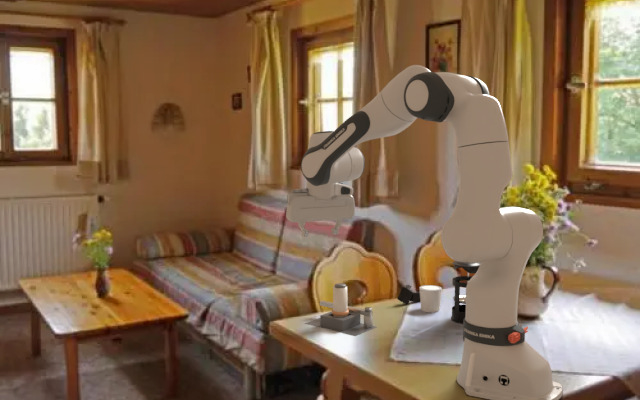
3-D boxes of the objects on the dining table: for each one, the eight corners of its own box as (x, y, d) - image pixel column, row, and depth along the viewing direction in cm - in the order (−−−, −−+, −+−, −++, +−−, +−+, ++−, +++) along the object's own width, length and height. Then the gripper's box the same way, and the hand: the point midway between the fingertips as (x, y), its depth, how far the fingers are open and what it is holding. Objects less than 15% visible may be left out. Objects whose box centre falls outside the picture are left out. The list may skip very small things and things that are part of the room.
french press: (466, 327, 190) (467, 246, 188) (442, 319, 198) (443, 241, 195) (494, 319, 197) (496, 242, 194) (470, 312, 205) (472, 237, 202)
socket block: (377, 330, 188) (377, 315, 188) (355, 339, 180) (355, 324, 180) (326, 318, 200) (326, 304, 199) (304, 326, 192) (304, 312, 191)
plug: (352, 324, 190) (352, 284, 189) (341, 328, 187) (341, 287, 185) (339, 321, 193) (338, 281, 192) (328, 325, 190) (328, 285, 188)
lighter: (412, 309, 218) (419, 293, 219) (417, 310, 216) (424, 294, 217) (395, 298, 213) (402, 282, 214) (400, 299, 211) (407, 283, 213)
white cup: (430, 314, 203) (430, 291, 202) (414, 309, 209) (414, 286, 208) (446, 310, 207) (446, 287, 206) (430, 305, 213) (430, 283, 212)
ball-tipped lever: (373, 315, 188) (373, 308, 188) (369, 316, 186) (369, 309, 186) (323, 304, 199) (323, 297, 199) (319, 305, 198) (318, 298, 198)
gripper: (291, 191, 184) (290, 240, 187) (358, 188, 193) (356, 235, 195) (283, 187, 190) (282, 235, 193) (348, 184, 198) (346, 230, 201)
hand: (319, 235), depth 194 cm, fingers open, 8 cm apart
